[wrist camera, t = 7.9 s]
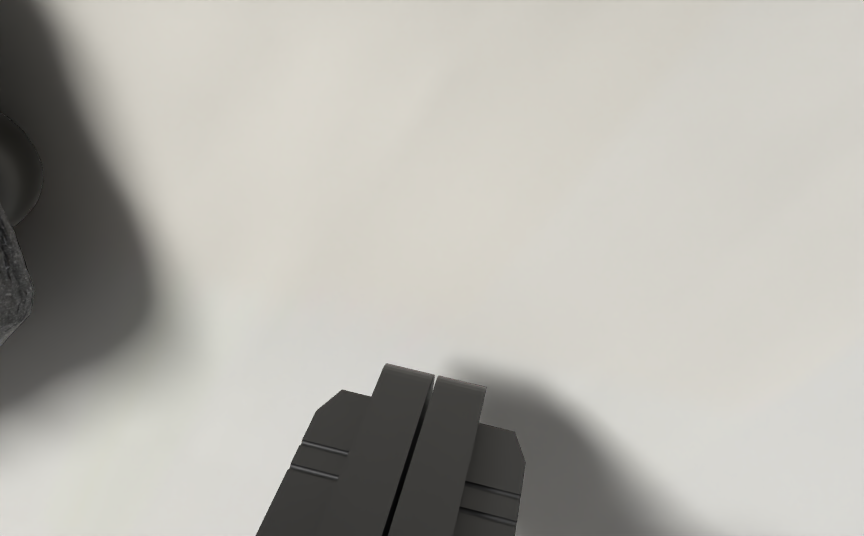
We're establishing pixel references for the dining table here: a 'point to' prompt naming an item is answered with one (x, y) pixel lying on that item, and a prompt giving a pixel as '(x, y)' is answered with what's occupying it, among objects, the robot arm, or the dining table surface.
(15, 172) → the serving board
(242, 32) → the dining table surface
